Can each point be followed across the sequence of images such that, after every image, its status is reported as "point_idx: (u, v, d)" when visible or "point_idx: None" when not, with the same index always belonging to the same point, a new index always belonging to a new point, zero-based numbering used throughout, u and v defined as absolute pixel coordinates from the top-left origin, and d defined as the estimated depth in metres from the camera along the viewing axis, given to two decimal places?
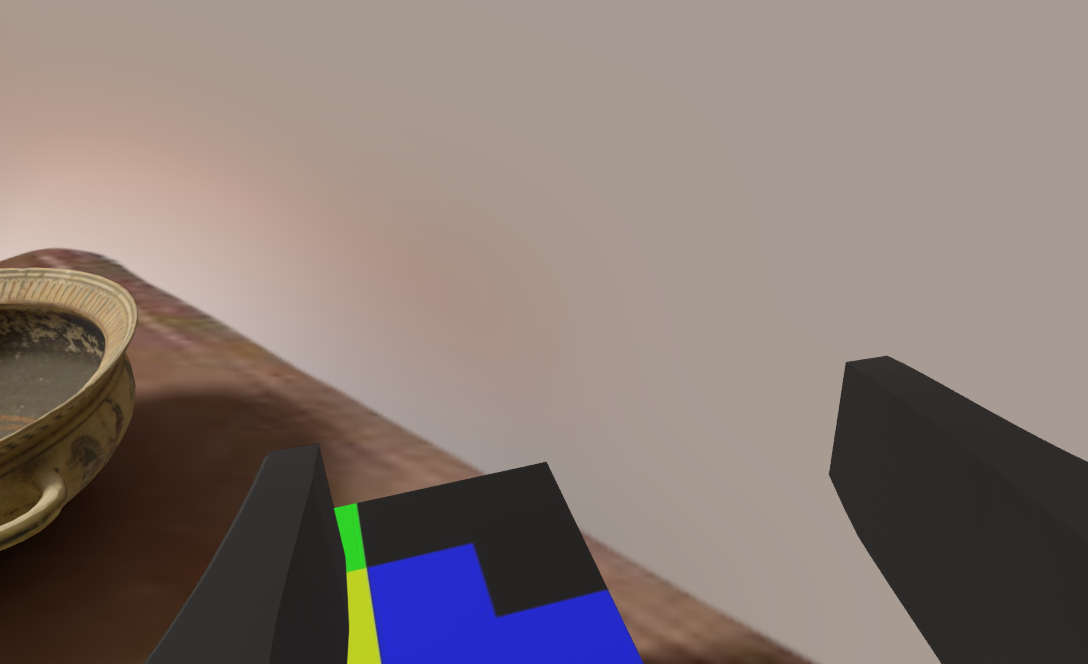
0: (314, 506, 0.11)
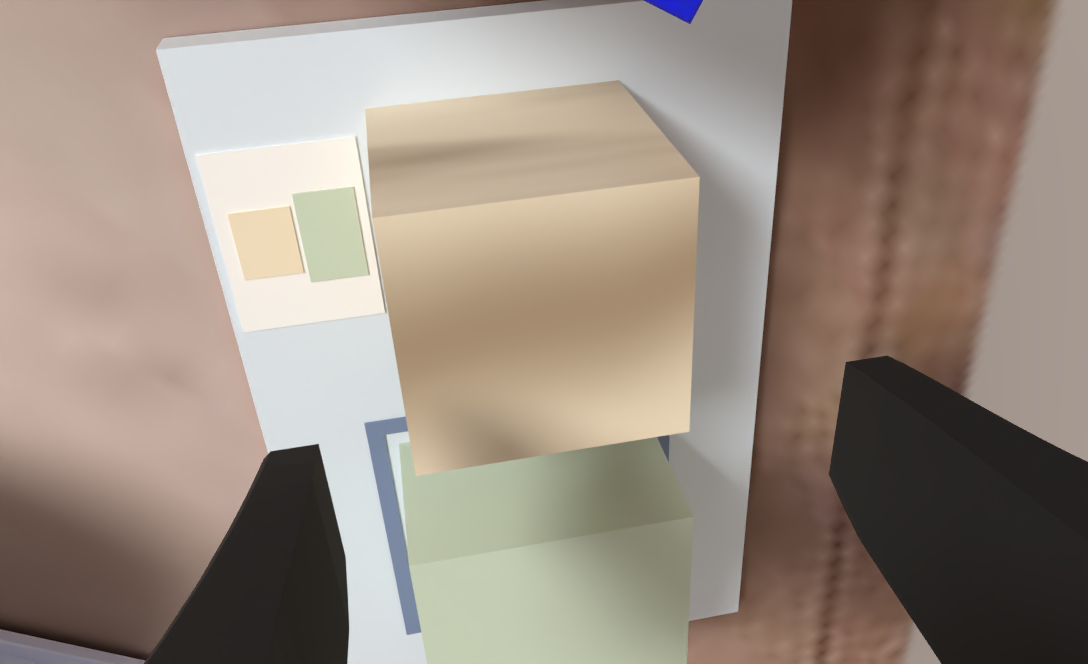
0: (314, 506, 0.11)
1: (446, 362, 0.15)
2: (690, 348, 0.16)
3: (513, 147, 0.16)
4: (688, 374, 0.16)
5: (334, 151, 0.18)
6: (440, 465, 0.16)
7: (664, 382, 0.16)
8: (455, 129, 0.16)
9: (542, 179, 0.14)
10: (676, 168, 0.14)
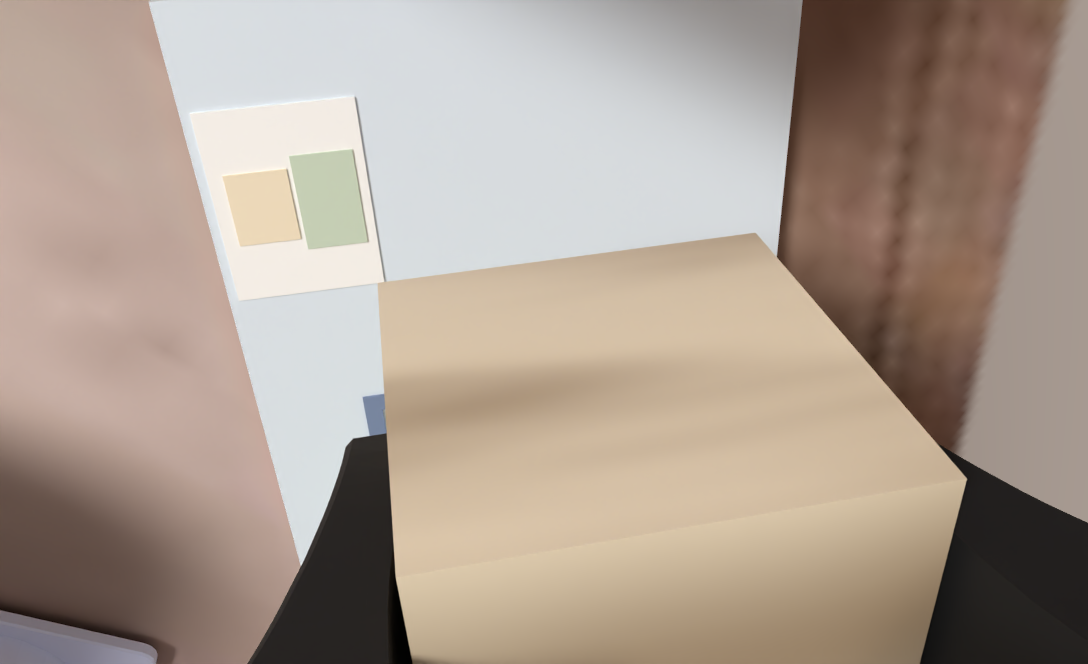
0: None
1: None
2: None
3: (623, 385, 0.10)
4: None
5: (333, 112, 0.17)
6: None
7: None
8: (521, 337, 0.10)
9: (689, 476, 0.08)
10: (917, 453, 0.08)
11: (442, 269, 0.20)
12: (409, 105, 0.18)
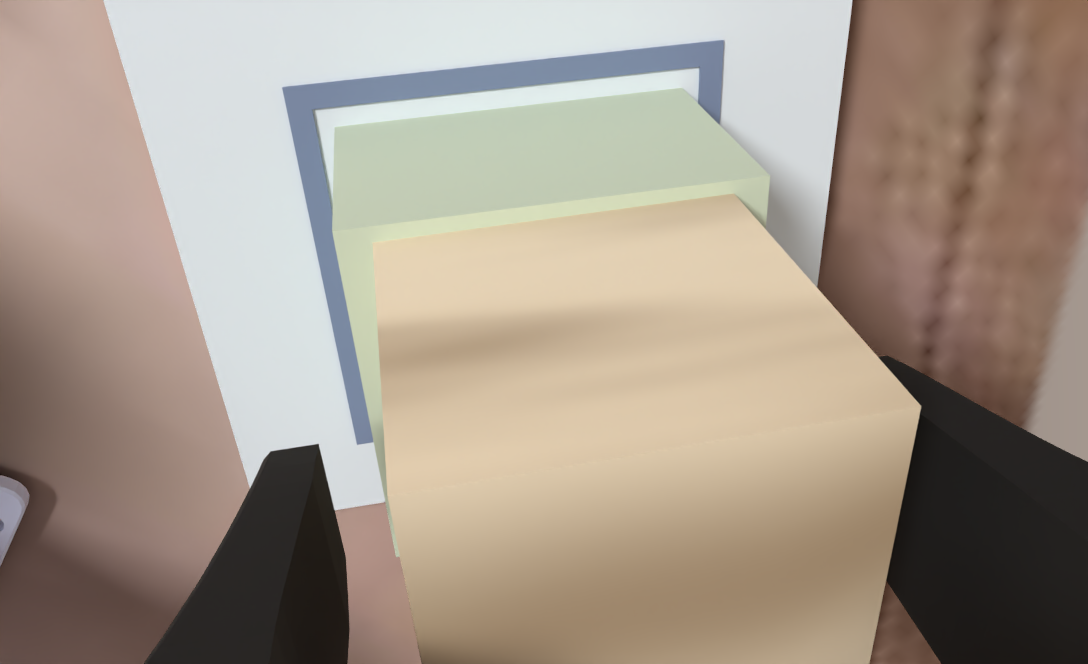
0: (314, 506, 0.11)
1: None
2: (872, 627, 0.10)
3: (603, 329, 0.10)
4: (864, 661, 0.11)
5: None
6: None
7: None
8: (508, 288, 0.11)
9: (662, 406, 0.09)
10: (876, 384, 0.09)
11: None
12: None
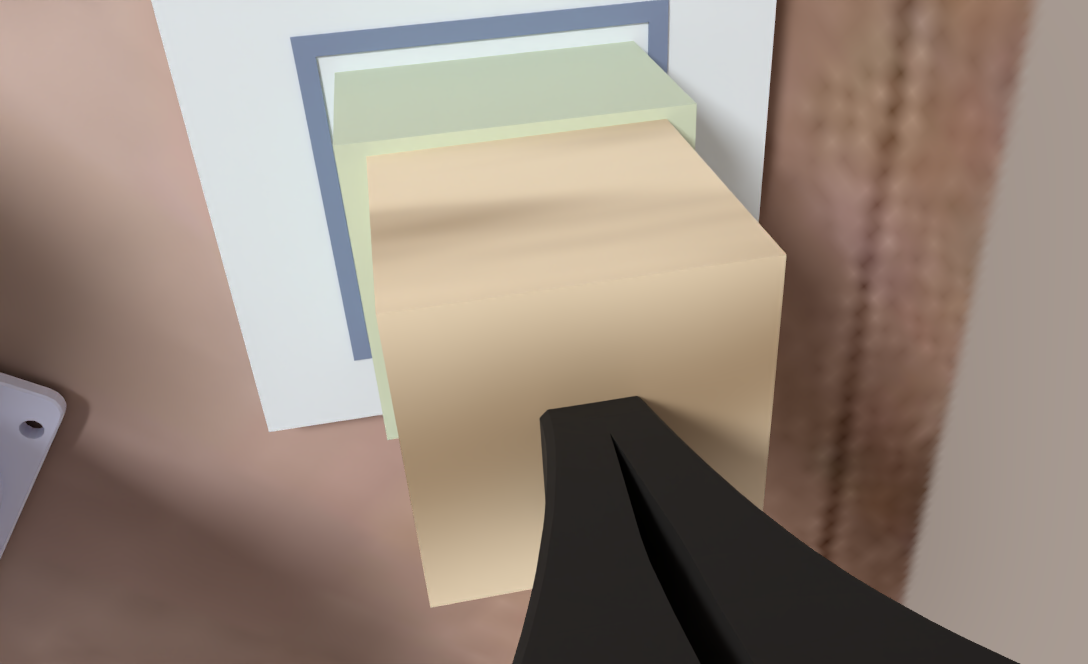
0: None
1: (468, 479, 0.12)
2: (765, 453, 0.13)
3: (549, 211, 0.13)
4: (761, 483, 0.13)
5: None
6: (460, 594, 0.13)
7: None
8: (475, 185, 0.14)
9: (588, 258, 0.12)
10: (755, 242, 0.12)
11: None
12: None
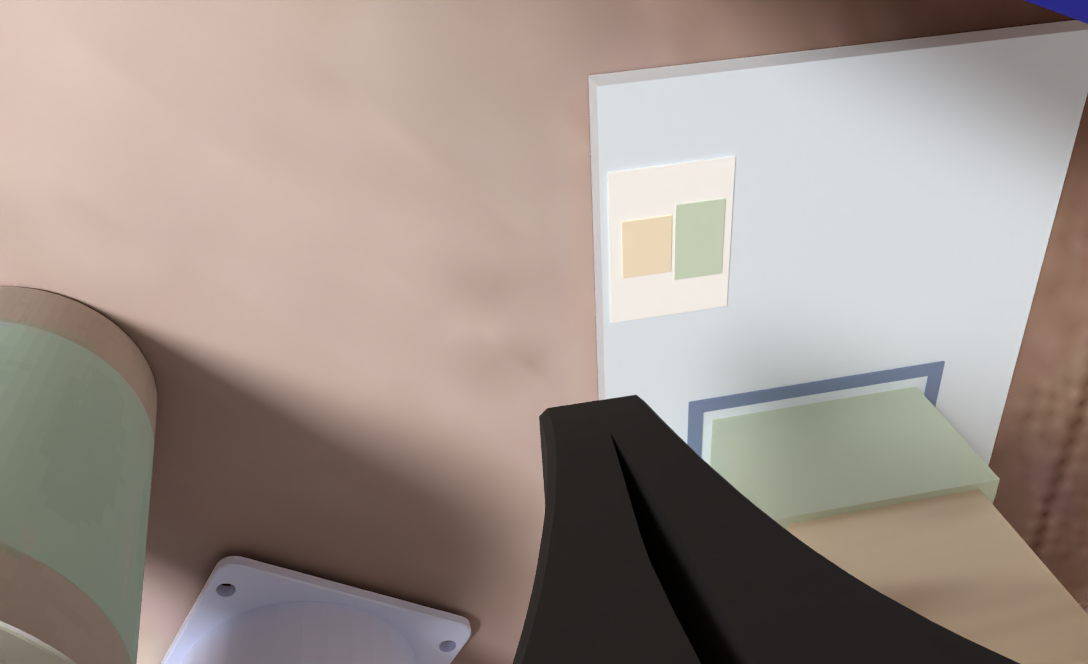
0: None
1: None
2: None
3: (946, 597, 0.20)
4: None
5: (717, 169, 0.21)
6: None
7: None
8: (882, 564, 0.21)
9: (996, 650, 0.19)
10: None
11: (772, 294, 0.24)
12: (774, 162, 0.22)
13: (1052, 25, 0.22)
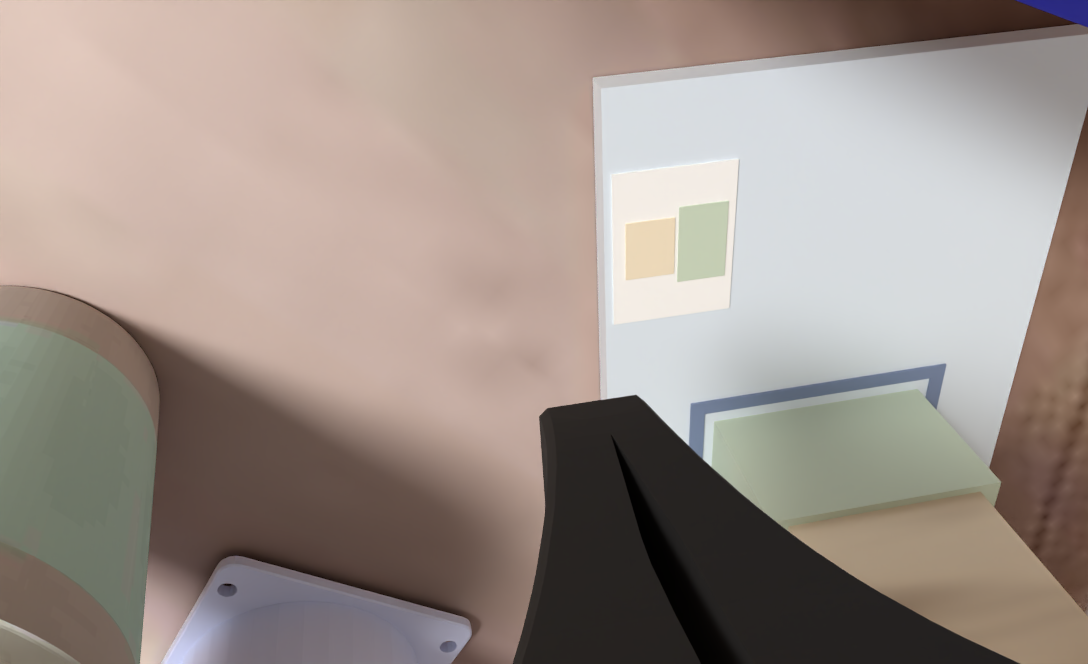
0: None
1: None
2: None
3: (948, 600, 0.20)
4: None
5: (720, 172, 0.21)
6: None
7: None
8: (884, 567, 0.21)
9: None
10: None
11: (774, 297, 0.24)
12: (778, 165, 0.22)
13: (1055, 29, 0.22)
